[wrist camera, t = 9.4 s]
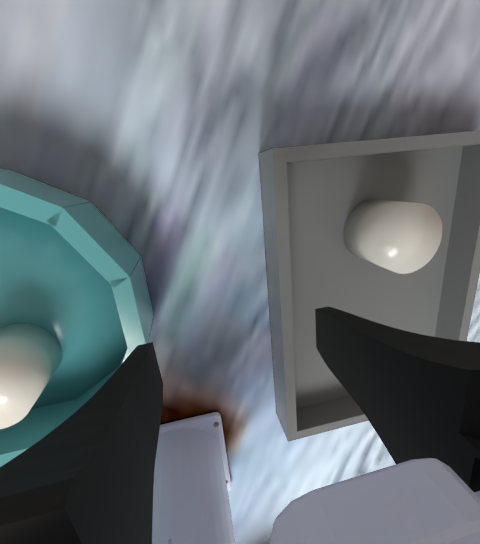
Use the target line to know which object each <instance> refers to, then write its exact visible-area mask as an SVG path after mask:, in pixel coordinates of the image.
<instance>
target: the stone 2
mask: <svg viewBox="0 0 480 544" xmlns="http://www.w3.org/2000/svg"><path fill="white" fill-rule="evenodd" d="M343 237H344V242H345V245H346V247H347V249H348V250H349V251H350V253H352V254H353V255H355V256H357V257H359V258H361V259H364V260H366V261H369V262H371V263H373V264H376V265H378V266H381V267H383V268H385V269H388V270H390V271H393V272H395V273H399V274H407V273H412V272H414V271H417V270H419V269H420V268H422V267H423V266H425V265H426V264H427V263H428V262H429V261H430V260H431V259H432V257H433V256H434V255H435V253H436V251H437V249H438V247H439V245H440V242H441V238H442V221H441V218H440V216H439V214H438V213H437V211H436V210H435V209H434V208H433V207H431V206H429V205H427V204H424V203H413V202H401V201H389V200H376V199H374V200H368V201H365V202H363V203H361V204H359V205H358V206H357V207H356V208H354V210H353V211H352V212H351V213H350V214H349V216H348V218H347V220H346V222H345V226H344V232H343Z"/></svg>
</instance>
